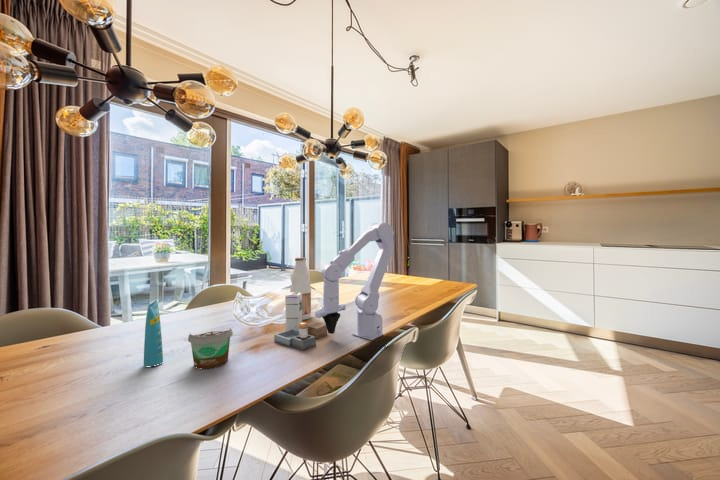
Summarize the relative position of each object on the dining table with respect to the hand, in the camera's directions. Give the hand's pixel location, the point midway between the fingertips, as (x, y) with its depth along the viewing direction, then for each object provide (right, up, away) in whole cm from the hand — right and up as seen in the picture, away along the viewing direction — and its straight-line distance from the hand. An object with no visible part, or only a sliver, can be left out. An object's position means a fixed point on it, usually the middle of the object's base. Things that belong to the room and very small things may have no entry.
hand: (331, 332), depth 111 cm
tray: (-15, -2, -1) cm, 15 cm away
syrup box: (-17, -2, +13) cm, 21 cm away
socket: (-9, -3, -6) cm, 11 cm away
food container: (-34, -3, -22) cm, 40 cm away
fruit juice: (-17, -2, +28) cm, 33 cm away
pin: (-9, -3, -6) cm, 11 cm away
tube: (-52, -3, -21) cm, 56 cm away
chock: (-7, -3, +5) cm, 9 cm away
